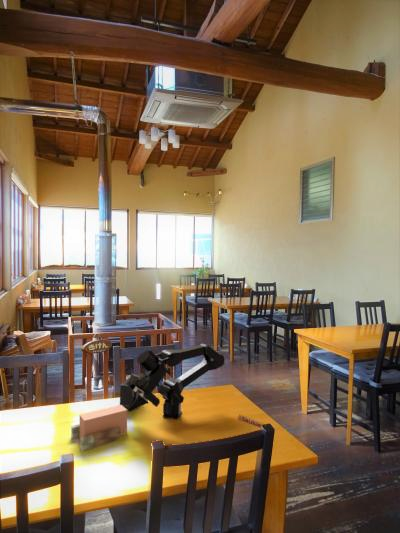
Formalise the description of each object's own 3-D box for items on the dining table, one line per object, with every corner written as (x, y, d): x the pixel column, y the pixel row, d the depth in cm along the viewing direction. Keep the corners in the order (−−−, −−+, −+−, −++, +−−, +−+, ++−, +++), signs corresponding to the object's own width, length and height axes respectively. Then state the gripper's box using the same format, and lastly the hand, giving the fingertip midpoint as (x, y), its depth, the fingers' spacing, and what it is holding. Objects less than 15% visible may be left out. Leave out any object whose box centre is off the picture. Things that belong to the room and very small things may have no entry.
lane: (107, 426, 142) (107, 416, 142) (120, 439, 133) (120, 428, 133) (71, 437, 134) (71, 426, 134) (81, 451, 125) (81, 439, 124)
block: (121, 427, 142) (121, 404, 142) (126, 433, 137) (127, 409, 137) (79, 439, 133) (79, 414, 132) (84, 445, 128) (84, 420, 128)
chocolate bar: (240, 418, 152) (240, 413, 152) (266, 427, 144) (266, 422, 144) (237, 420, 150) (237, 415, 150) (262, 430, 142) (262, 424, 142)
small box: (133, 410, 157) (133, 386, 156) (119, 408, 158) (119, 385, 158) (142, 400, 167) (142, 378, 167) (128, 399, 169) (128, 376, 168)
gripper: (130, 360, 151) (105, 392, 145) (153, 372, 136) (125, 409, 130) (147, 375, 156) (123, 407, 150) (170, 389, 141) (144, 424, 135)
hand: (128, 411), depth 141 cm, fingers closed
